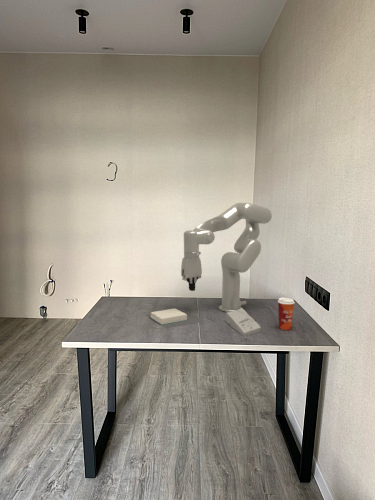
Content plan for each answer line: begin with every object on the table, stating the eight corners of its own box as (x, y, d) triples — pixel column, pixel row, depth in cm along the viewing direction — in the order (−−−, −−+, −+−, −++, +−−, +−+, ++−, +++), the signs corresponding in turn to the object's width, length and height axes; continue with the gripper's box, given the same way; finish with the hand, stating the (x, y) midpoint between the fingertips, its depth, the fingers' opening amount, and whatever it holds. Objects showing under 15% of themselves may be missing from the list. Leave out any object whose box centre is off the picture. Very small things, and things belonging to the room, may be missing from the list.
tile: (175, 308, 196) (150, 312, 188) (186, 314, 185) (161, 318, 178) (175, 313, 196) (150, 318, 189) (186, 320, 186) (161, 325, 179)
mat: (182, 310, 204) (182, 309, 204) (205, 321, 186) (205, 320, 186) (146, 316, 193) (146, 315, 193) (165, 329, 174) (165, 328, 174)
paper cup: (284, 331, 173) (285, 302, 171) (273, 326, 179) (274, 298, 178) (297, 329, 176) (298, 300, 174) (285, 324, 183) (287, 296, 181)
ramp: (263, 337, 167) (263, 325, 166) (227, 336, 167) (227, 324, 167) (255, 317, 194) (255, 307, 194) (224, 317, 195) (224, 306, 194)
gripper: (199, 252, 197) (200, 286, 200) (174, 255, 189) (175, 290, 192) (207, 254, 190) (208, 289, 193) (182, 257, 183) (183, 294, 186)
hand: (192, 290), depth 193 cm, fingers closed
